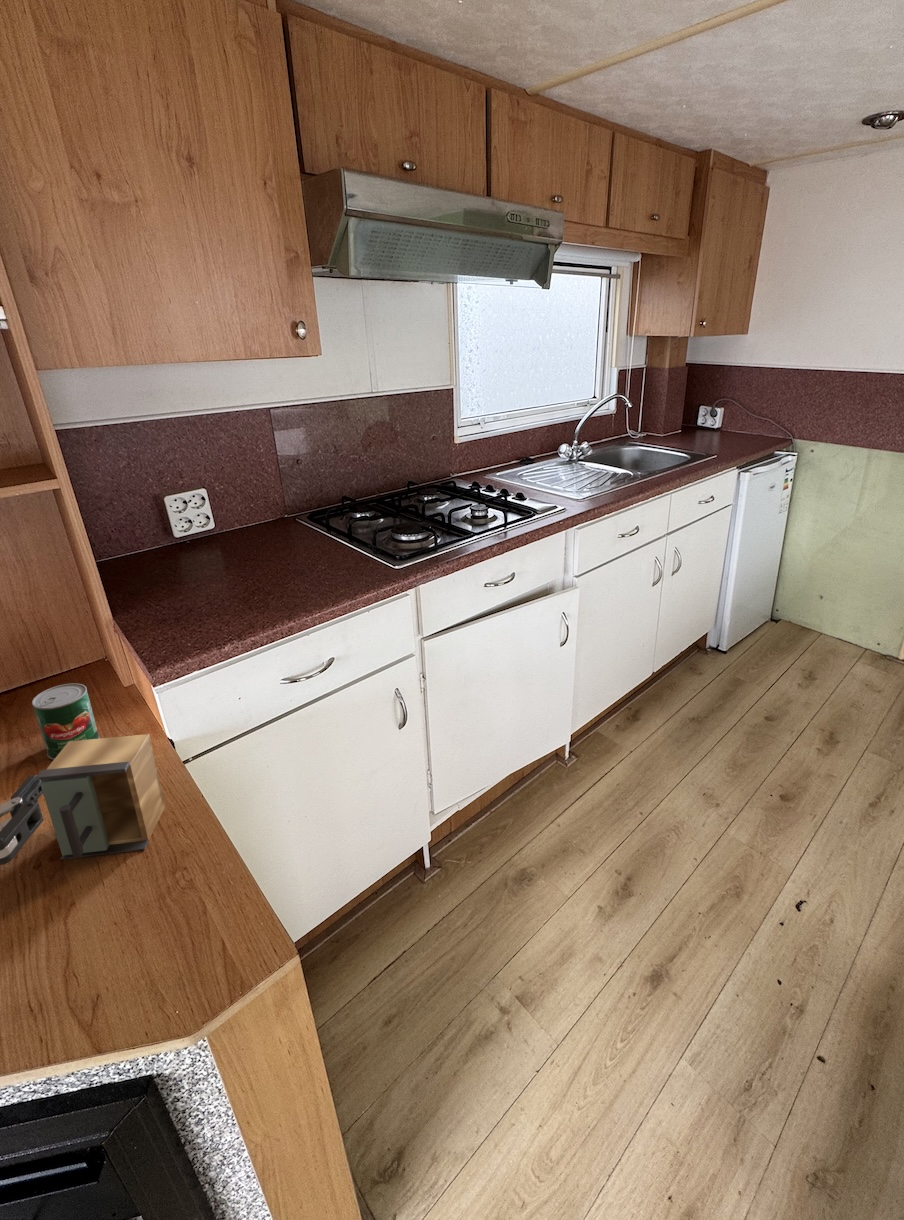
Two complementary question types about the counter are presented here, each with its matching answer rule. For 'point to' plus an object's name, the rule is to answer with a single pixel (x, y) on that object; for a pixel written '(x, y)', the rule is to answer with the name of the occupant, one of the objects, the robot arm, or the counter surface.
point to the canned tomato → (64, 716)
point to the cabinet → (116, 787)
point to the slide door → (74, 815)
